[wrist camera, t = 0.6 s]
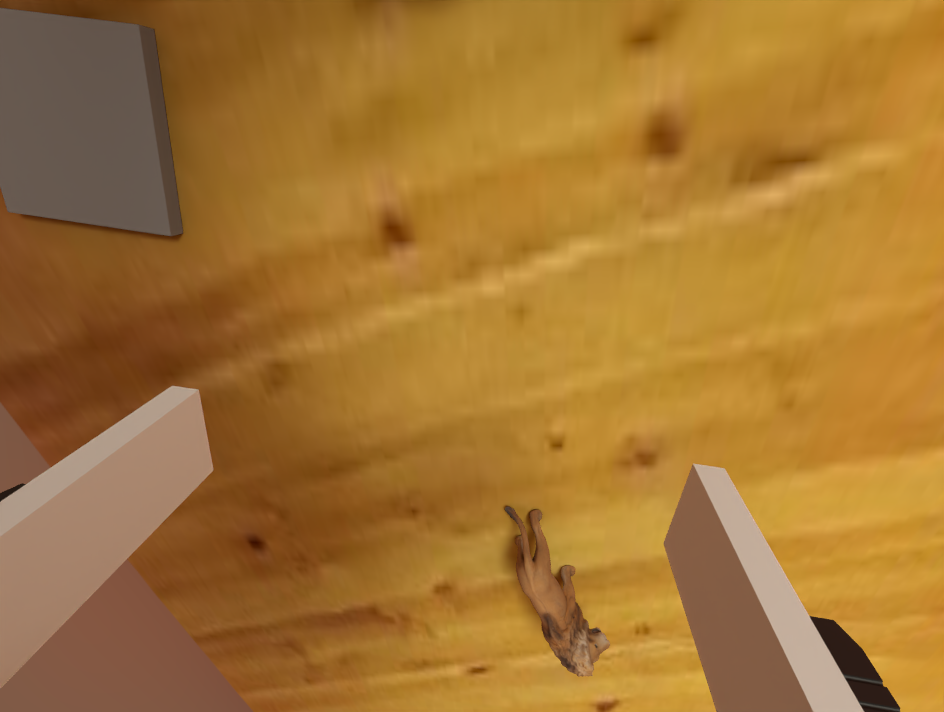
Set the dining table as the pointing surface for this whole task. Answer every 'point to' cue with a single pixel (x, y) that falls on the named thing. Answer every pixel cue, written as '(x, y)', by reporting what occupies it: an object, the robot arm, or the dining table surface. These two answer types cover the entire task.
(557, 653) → the lion figurine
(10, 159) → the slate board
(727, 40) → the dining table surface
